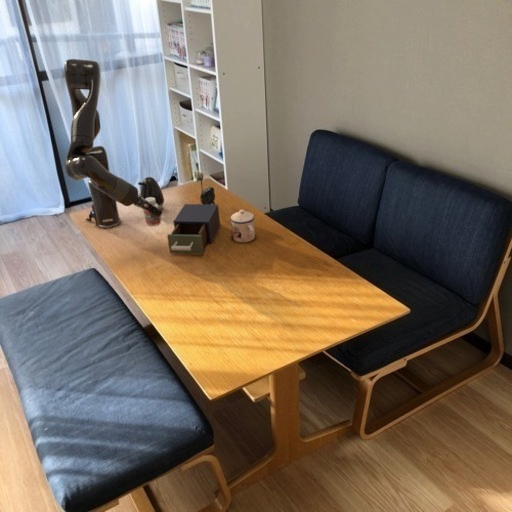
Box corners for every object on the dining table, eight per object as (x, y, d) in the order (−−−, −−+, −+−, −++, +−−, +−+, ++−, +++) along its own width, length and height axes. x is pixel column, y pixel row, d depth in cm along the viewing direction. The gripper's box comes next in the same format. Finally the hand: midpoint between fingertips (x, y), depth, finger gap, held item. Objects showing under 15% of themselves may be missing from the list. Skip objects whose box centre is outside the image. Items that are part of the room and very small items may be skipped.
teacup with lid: (228, 236, 201) (225, 209, 195) (248, 230, 205) (246, 203, 199) (243, 248, 192) (241, 220, 186) (264, 241, 195) (262, 213, 190)
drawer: (199, 261, 183) (196, 243, 180) (165, 260, 185) (162, 242, 182) (212, 235, 200) (210, 218, 196) (181, 235, 202) (178, 218, 199)
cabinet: (211, 243, 197) (208, 221, 192) (176, 242, 199) (173, 221, 194) (220, 225, 210) (218, 204, 205) (187, 224, 212) (184, 204, 208)
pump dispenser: (137, 210, 228) (131, 178, 220) (157, 202, 234) (152, 171, 226) (150, 216, 221) (144, 183, 214) (170, 209, 227) (165, 176, 220)
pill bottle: (145, 227, 186) (140, 202, 181) (147, 220, 191) (143, 196, 186) (160, 226, 186) (156, 201, 181) (161, 220, 191) (158, 195, 186)
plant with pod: (222, 213, 220) (217, 168, 210) (198, 220, 215) (193, 175, 205) (212, 207, 226) (208, 163, 216) (190, 214, 221) (184, 170, 211)
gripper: (136, 186, 170) (172, 208, 183) (116, 176, 180) (151, 197, 193) (125, 206, 170) (161, 226, 183) (105, 194, 180) (141, 214, 192)
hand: (156, 211), depth 187 cm, fingers closed on pill bottle, 5 cm apart
